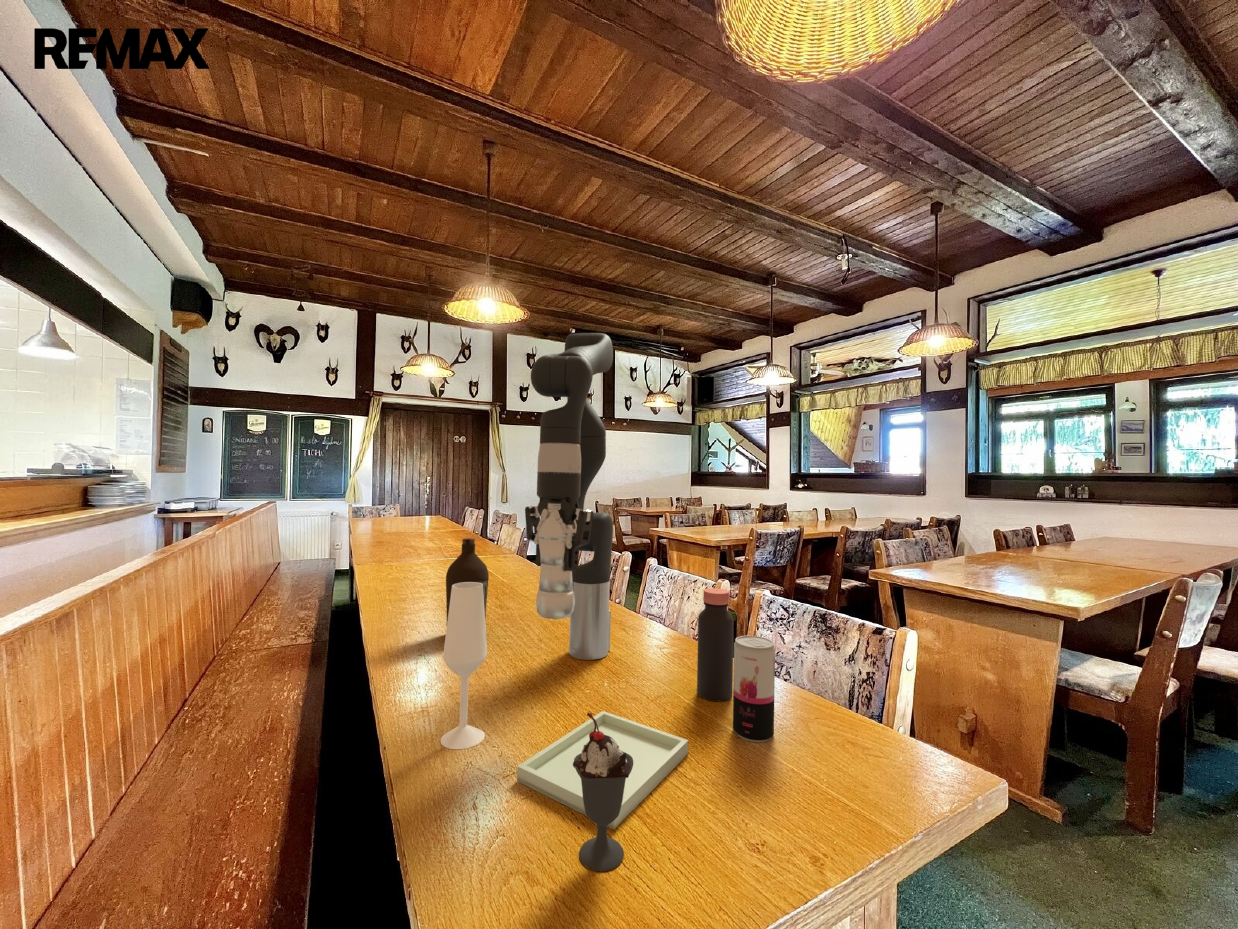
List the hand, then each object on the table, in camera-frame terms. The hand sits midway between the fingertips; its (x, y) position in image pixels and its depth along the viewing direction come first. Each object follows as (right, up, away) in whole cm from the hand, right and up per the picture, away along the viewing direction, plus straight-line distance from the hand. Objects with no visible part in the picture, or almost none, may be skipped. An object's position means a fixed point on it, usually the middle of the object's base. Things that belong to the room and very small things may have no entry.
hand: (556, 567), depth 85 cm
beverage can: (+33, -27, -4) cm, 43 cm away
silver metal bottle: (0, -9, 0) cm, 9 cm away
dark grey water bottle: (+29, -27, +11) cm, 41 cm away
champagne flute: (-14, -26, -7) cm, 30 cm away
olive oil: (-29, -27, +42) cm, 58 cm away
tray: (+9, -26, -14) cm, 31 cm away
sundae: (+9, -25, -31) cm, 41 cm away
